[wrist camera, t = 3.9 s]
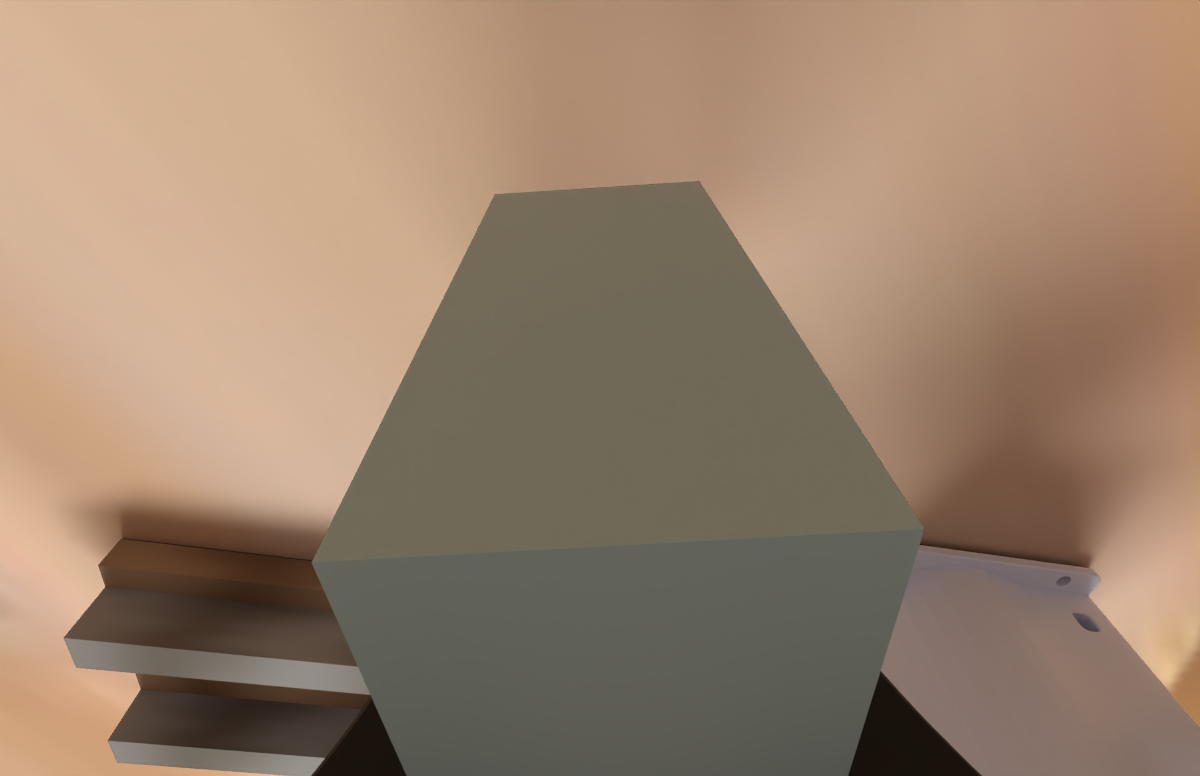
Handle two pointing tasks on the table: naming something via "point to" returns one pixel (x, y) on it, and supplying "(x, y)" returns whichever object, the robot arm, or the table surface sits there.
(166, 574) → the door track
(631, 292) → the door panel
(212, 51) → the table surface
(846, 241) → the table surface
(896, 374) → the table surface
